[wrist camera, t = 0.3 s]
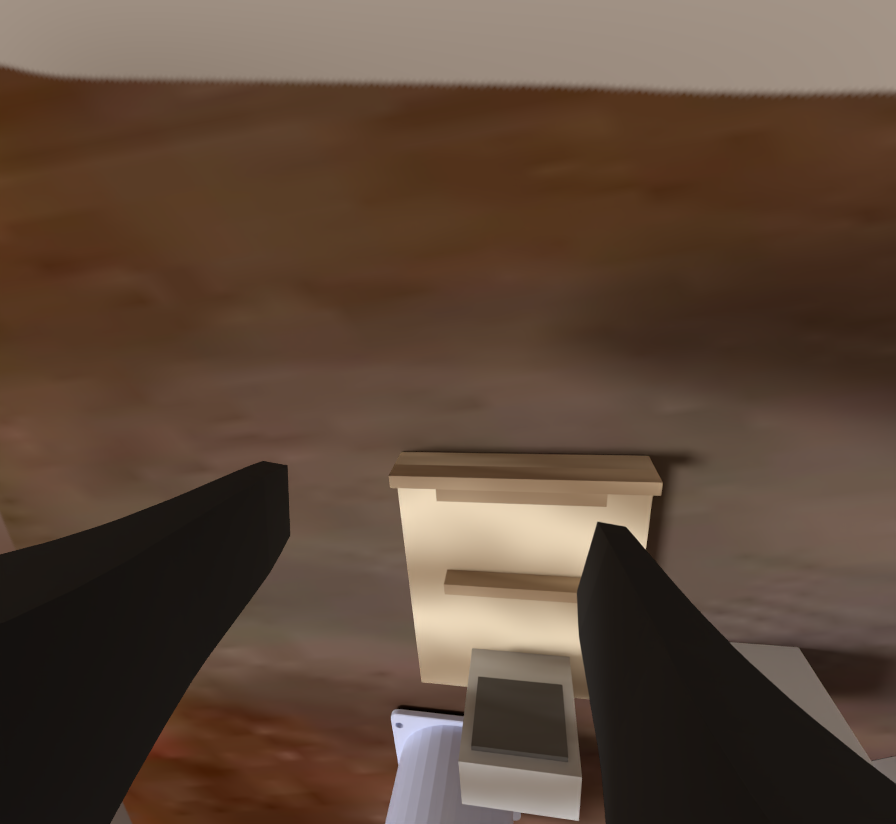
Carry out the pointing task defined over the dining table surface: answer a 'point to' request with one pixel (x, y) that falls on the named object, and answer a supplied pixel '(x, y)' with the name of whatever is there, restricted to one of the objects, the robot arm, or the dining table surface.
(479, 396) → the dining table surface
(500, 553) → the cream tray
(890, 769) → the lighter
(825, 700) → the white rectangular box
